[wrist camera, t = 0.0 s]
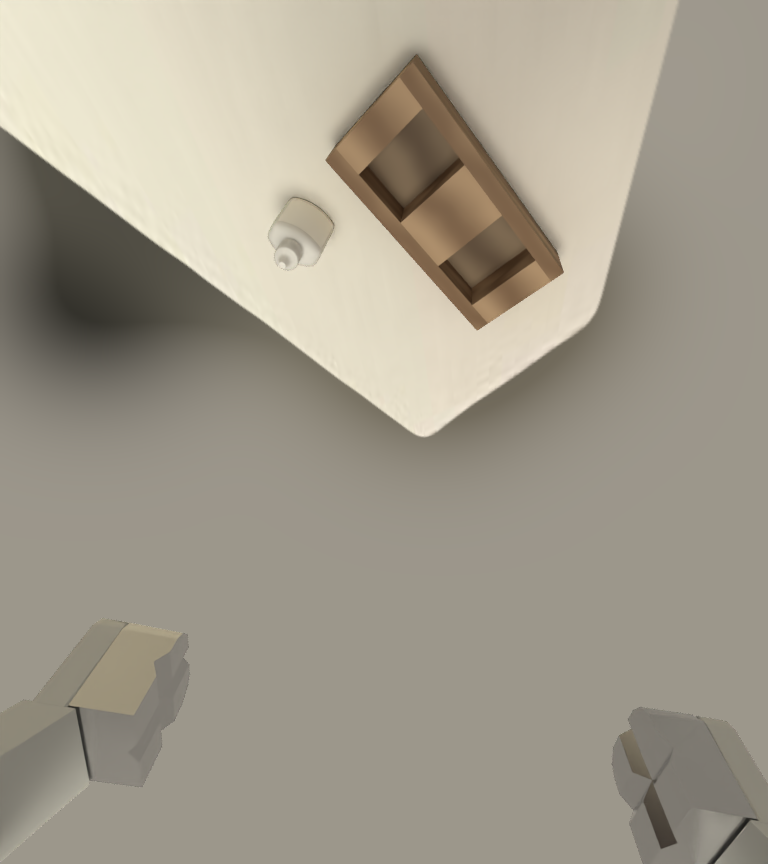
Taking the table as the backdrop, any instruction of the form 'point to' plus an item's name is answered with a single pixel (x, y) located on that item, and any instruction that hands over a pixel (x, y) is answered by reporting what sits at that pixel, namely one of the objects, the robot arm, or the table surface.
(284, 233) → the eye dropper bottle
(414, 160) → the walnut slot rail
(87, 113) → the table surface
